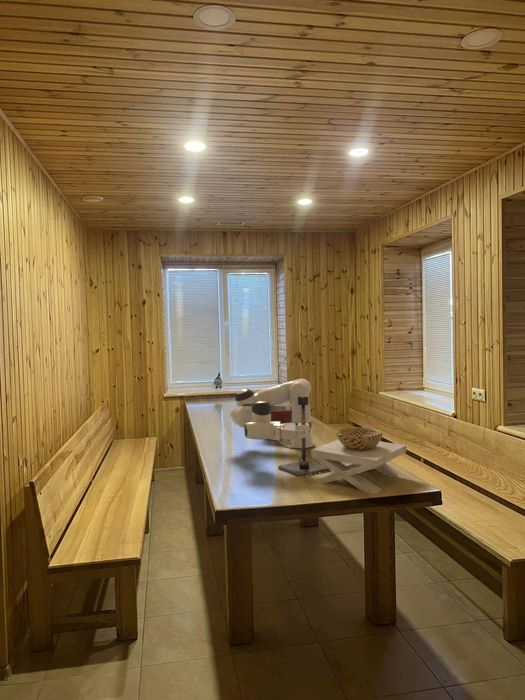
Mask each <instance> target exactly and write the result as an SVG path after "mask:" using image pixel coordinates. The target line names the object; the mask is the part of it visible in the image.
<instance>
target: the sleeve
mask: <svg viewBox="0 0 525 700" xmlns="http://www.w3.org/2000/svg"><path fill="white" fill-rule="evenodd" d="M300 430H305V431H306V434H302V435H298V438H309V423H305V425H302V423H298V431H300Z"/></svg>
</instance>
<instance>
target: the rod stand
mask: <svg viewBox="0 0 525 700" xmlns="http://www.w3.org/2000/svg"><path fill="white" fill-rule="evenodd" d="M298 405H301V418H302V419H301V423H302V425H305V423H306V419H305V405H308V397H307V396H299V397H298ZM306 450H307V448H306V441H305V438H302V448H301V458H300V459H298V461H294V462H289V463H284V464H279V465H278V466H277V467H278V469H279V470H280V471H284V472H287V473H289V474H292V475H294V476H296V475H297V477H299V476H300V477H299V478H303V477H302V476H304V477H307V476H306V475H309V476H311V475H310V474H313V475H316V474H315V473H317V474H320V473H319V472H322V473H325V472H324V471H326V472H329V470H330V469H329V468H327V467H326V466H324V465H323V464H321V463H317V462H314V461H311V460H309V459H307V457H306V456H307V454H306ZM330 471H331V470H330Z"/></svg>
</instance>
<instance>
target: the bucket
mask: <svg viewBox="0 0 525 700" xmlns="http://www.w3.org/2000/svg"><path fill="white" fill-rule="evenodd" d="M271 421H280V423H281V424H283V423H289V422H292V408H291V406H289V405H275V406H271ZM268 440H270V441H275V440H274V439H272V440H271V439H268ZM281 440H283V439H281ZM281 440H280V441H281Z"/></svg>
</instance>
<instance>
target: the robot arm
mask: <svg viewBox="0 0 525 700" xmlns="http://www.w3.org/2000/svg"><path fill="white" fill-rule="evenodd" d="M311 391H312V385H311V383H310V381H309V380H308V379H306V378H298V379H295V380H292V381H291V380H290V381H288V382H284V383H281V384H278V385H275V386H270V387H266V388H263V389H260V390H259V391H256V392H255V391H253V390H252V389H249V388H241V389H240V390H238V391H237V392H235V393H234V401H235V402H236V406H234V407H232V409H231V410H230V414H229V415H230V418H231V421H232V422H233V423H234V424H235V425H236V426H238V427H240V428H242V429H243V428H244V430H243V431H244V437H245V438H246V439H248V440H269V439H271V440H270V441H278V444H279V445H280V444H281V445H282V446H285V447H287V448H289V449H302V438H298V435H302V434H306V431H305V430H300V431H298V423H301V419H302V418H301V405H298V397H299V396H307V397H308V405H305V419H306V423H309V438H305V441H306V449H308V448H312V447H314V445H315V441H314V436H313V430H312V421H311V416H312V415H311V414H312V413H311V403H310V402H311V401H310V394H311ZM288 402H290V405H291V406H290V407H291V408H292V422H289V423H283V424H281V423H280V421H271V406H280V405H282V404H286V403H288ZM272 439H274V440H272ZM281 439H283V440H281Z"/></svg>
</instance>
